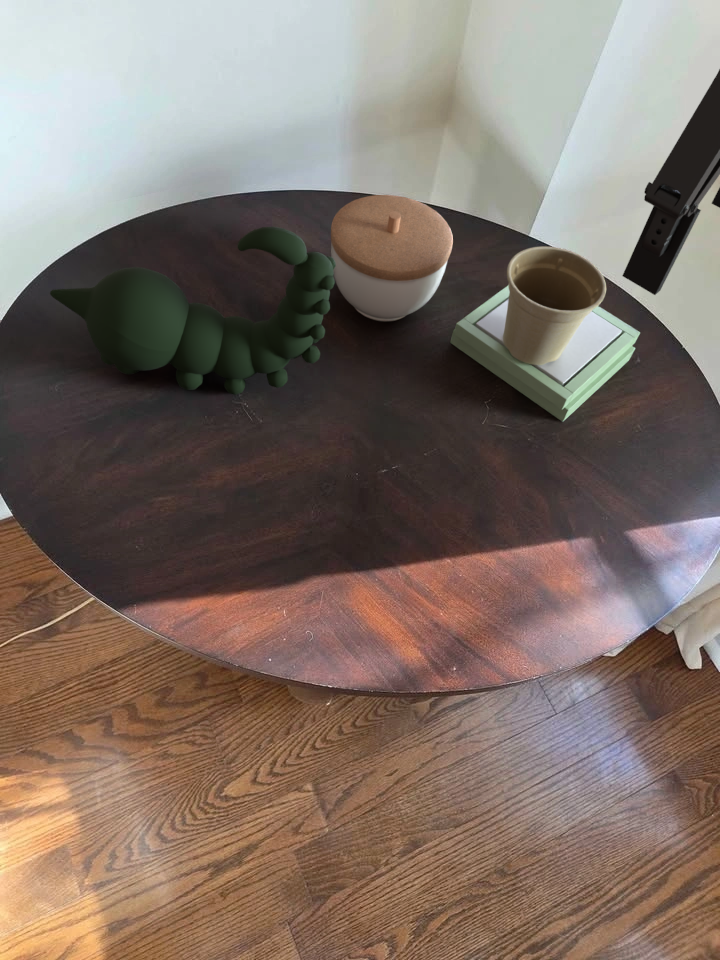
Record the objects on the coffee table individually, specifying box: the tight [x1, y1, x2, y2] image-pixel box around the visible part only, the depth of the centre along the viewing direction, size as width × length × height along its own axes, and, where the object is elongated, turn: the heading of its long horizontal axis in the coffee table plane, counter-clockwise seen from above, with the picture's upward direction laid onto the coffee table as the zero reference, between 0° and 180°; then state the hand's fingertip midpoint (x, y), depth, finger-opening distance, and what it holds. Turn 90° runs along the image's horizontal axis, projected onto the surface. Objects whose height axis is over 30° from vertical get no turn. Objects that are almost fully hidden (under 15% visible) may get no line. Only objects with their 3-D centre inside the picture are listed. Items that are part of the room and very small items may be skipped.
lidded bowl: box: [330, 194, 454, 322], centre depth 83 cm, size 13×13×11 cm
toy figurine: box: [49, 226, 336, 396], centre depth 71 cm, size 9×19×25 cm
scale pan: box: [475, 299, 622, 387], centre depth 82 cm, size 11×11×2 cm
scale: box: [450, 284, 641, 423], centre depth 83 cm, size 15×14×4 cm
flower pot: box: [503, 245, 607, 365], centre depth 76 cm, size 9×9×9 cm
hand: (687, 244), depth 58 cm, fingers open, 13 cm apart
